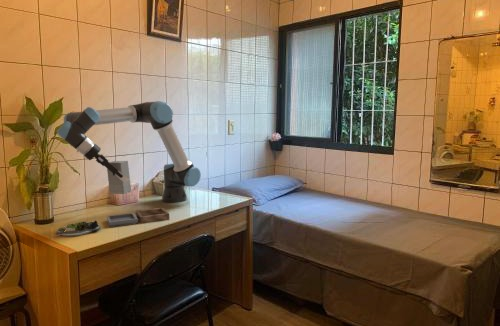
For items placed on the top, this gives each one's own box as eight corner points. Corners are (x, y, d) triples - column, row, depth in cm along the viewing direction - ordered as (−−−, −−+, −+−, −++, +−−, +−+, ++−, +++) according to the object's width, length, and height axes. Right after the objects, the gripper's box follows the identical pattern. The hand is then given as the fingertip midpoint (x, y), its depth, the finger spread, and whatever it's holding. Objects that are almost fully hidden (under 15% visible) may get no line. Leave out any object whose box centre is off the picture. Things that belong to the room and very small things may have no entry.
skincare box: (131, 192, 185) (129, 160, 183) (122, 195, 178) (121, 162, 176) (116, 191, 187) (115, 160, 186) (107, 194, 181) (105, 161, 179)
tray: (133, 217, 194) (133, 212, 193) (138, 223, 182) (137, 218, 182) (107, 220, 188) (106, 215, 188) (109, 227, 176) (109, 222, 176)
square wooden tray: (163, 213, 202) (162, 207, 202) (169, 219, 189) (169, 213, 189) (136, 216, 196) (135, 210, 195) (140, 223, 183) (140, 217, 183)
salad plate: (63, 242, 158) (62, 231, 157) (46, 233, 170) (46, 223, 169) (106, 231, 172) (106, 221, 172) (88, 224, 184) (88, 215, 183)
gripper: (82, 153, 184) (117, 182, 193) (84, 157, 164) (123, 189, 173) (93, 142, 185) (127, 171, 194) (96, 144, 166) (134, 177, 174)
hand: (125, 179), depth 184 cm, fingers closed on skincare box, 10 cm apart
